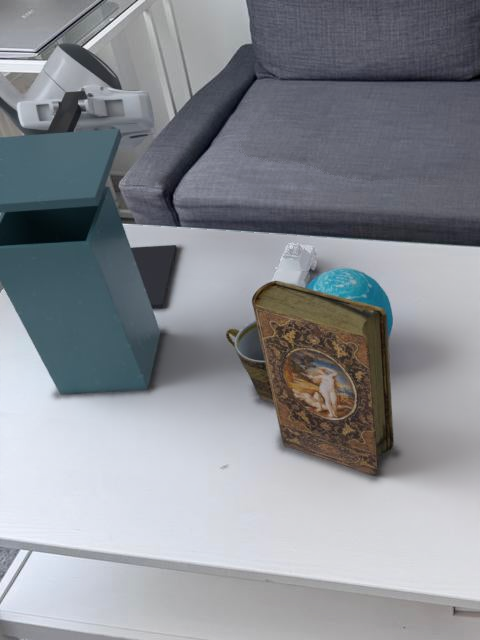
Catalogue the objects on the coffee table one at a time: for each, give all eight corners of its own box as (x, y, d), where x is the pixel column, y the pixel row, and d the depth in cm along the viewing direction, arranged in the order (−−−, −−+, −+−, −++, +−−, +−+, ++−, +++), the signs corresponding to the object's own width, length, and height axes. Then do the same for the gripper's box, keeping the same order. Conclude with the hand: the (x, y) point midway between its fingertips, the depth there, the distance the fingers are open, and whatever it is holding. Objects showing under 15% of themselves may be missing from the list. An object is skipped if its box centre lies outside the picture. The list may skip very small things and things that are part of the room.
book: (277, 444, 110) (244, 303, 90) (295, 419, 113) (267, 278, 93) (378, 478, 105) (367, 337, 85) (394, 451, 108) (387, 309, 88)
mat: (163, 308, 130) (162, 304, 130) (89, 312, 131) (88, 308, 130) (177, 248, 141) (176, 244, 141) (109, 252, 142) (107, 248, 141)
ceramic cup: (322, 379, 118) (315, 328, 110) (288, 420, 113) (278, 370, 105) (254, 355, 122) (242, 305, 114) (218, 394, 117) (203, 344, 109)
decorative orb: (323, 320, 127) (312, 241, 115) (406, 336, 123) (404, 257, 111) (287, 378, 118) (271, 299, 106) (375, 397, 115) (370, 318, 103)
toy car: (269, 298, 131) (263, 264, 125) (290, 258, 138) (284, 225, 132) (302, 302, 130) (297, 268, 124) (321, 262, 137) (317, 228, 131)
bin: (147, 389, 118) (89, 243, 97) (59, 394, 118) (-18, 249, 97) (160, 332, 126) (109, 186, 106) (78, 337, 127) (11, 192, 106)
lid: (98, 205, 95) (95, 197, 94) (-41, 215, 96) (-46, 207, 95) (136, 95, 114) (134, 86, 113) (20, 103, 114) (16, 95, 113)
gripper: (33, 98, 122) (-6, 86, 109) (157, 90, 122) (132, 78, 109) (42, 141, 125) (4, 134, 112) (164, 134, 124) (140, 126, 112)
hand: (69, 106), depth 110 cm, fingers closed on lid, 3 cm apart
